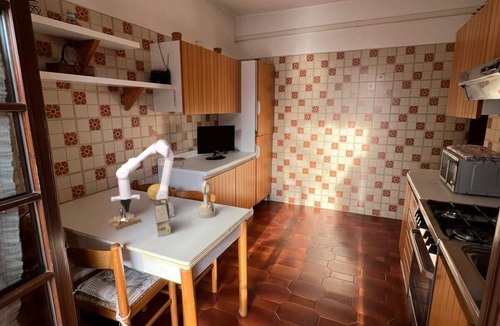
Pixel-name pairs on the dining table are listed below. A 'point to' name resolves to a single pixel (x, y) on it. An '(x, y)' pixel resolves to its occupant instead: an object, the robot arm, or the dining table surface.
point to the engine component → (206, 203)
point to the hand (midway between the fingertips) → (127, 211)
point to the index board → (124, 224)
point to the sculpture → (153, 191)
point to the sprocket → (123, 217)
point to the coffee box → (162, 217)
